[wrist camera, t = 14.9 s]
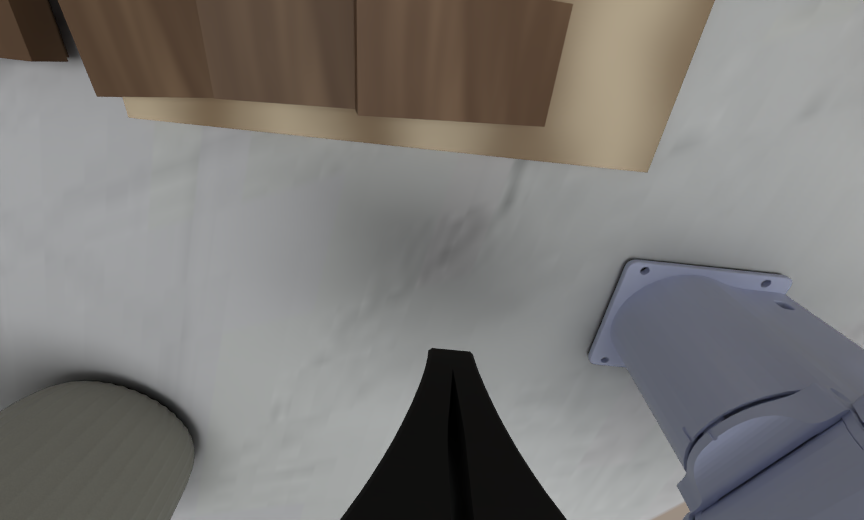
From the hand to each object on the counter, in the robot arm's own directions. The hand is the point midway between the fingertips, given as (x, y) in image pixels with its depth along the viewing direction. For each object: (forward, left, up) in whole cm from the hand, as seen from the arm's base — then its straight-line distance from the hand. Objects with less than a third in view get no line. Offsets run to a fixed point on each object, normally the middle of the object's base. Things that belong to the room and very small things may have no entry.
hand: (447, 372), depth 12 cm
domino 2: (+2, -9, -9) cm, 13 cm away
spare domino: (-3, -9, -9) cm, 13 cm away
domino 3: (+9, -9, -9) cm, 15 cm away
